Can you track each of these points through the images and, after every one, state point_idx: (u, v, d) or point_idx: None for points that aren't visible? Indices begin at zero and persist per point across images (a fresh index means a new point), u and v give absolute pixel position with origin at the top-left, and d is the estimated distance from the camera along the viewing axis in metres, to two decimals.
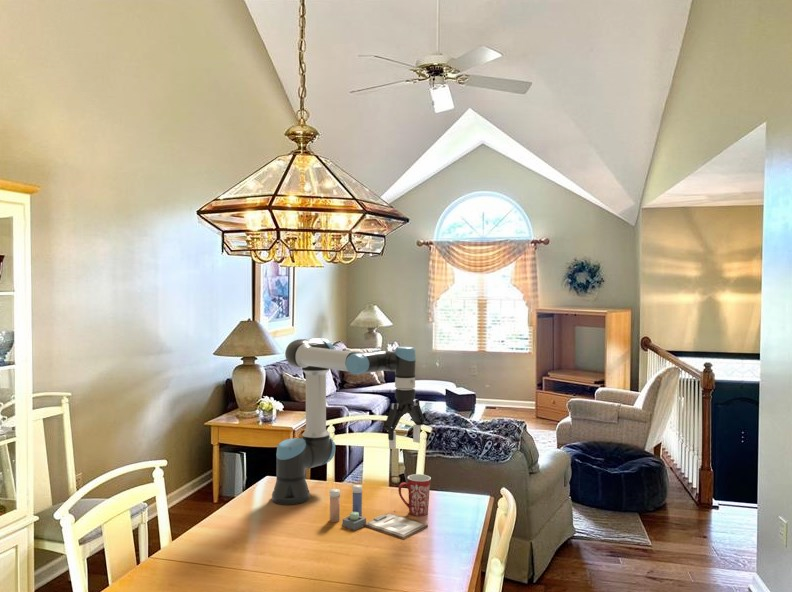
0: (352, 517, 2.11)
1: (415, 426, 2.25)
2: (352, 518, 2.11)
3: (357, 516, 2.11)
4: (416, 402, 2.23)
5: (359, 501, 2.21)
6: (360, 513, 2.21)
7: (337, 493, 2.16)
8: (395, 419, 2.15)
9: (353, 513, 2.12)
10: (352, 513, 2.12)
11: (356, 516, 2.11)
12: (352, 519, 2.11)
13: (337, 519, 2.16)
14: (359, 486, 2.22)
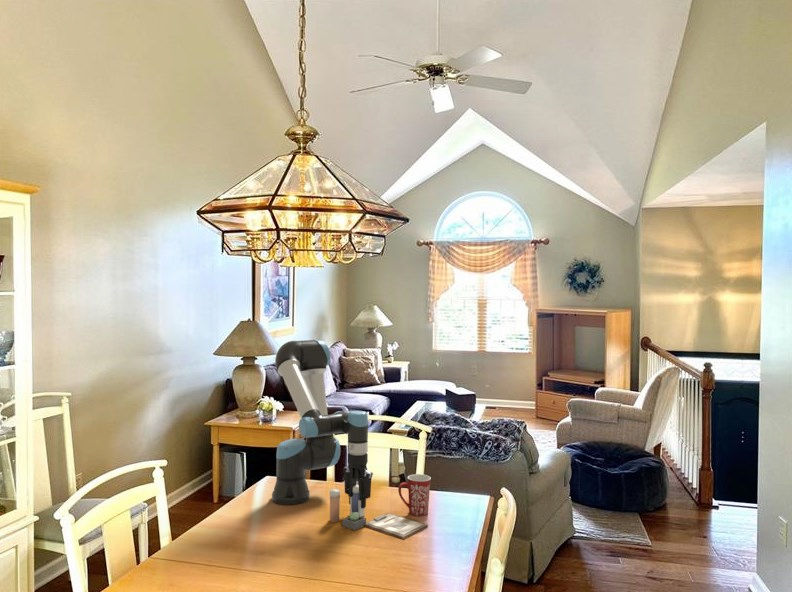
0: (352, 517, 2.11)
1: None
2: (352, 518, 2.11)
3: (357, 516, 2.11)
4: (366, 474, 2.19)
5: None
6: None
7: (337, 493, 2.16)
8: None
9: (353, 513, 2.12)
10: (352, 513, 2.12)
11: (356, 516, 2.11)
12: (352, 519, 2.11)
13: (337, 519, 2.16)
14: None
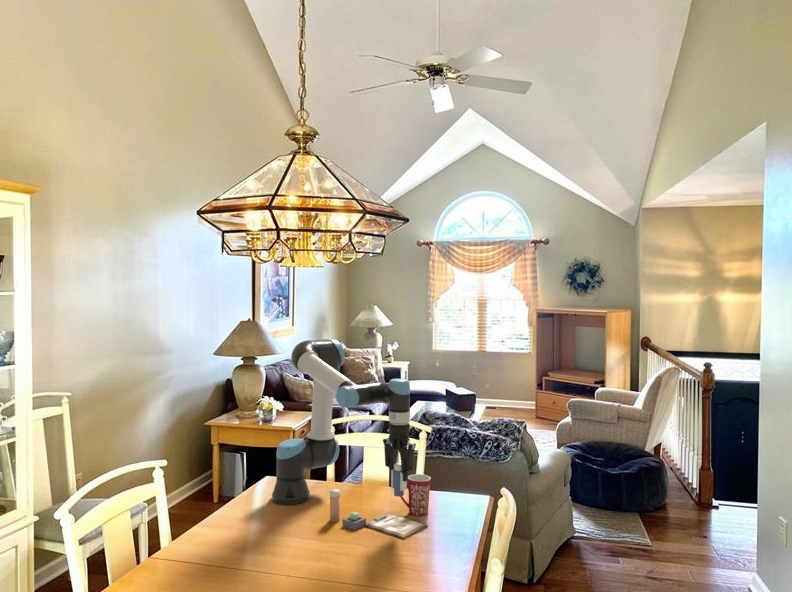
0: (352, 517, 2.11)
1: None
2: (352, 518, 2.11)
3: (357, 516, 2.11)
4: (409, 445, 2.06)
5: None
6: (402, 492, 2.09)
7: (337, 493, 2.16)
8: None
9: (353, 513, 2.12)
10: (352, 513, 2.12)
11: (356, 516, 2.11)
12: (352, 519, 2.11)
13: (337, 519, 2.16)
14: None
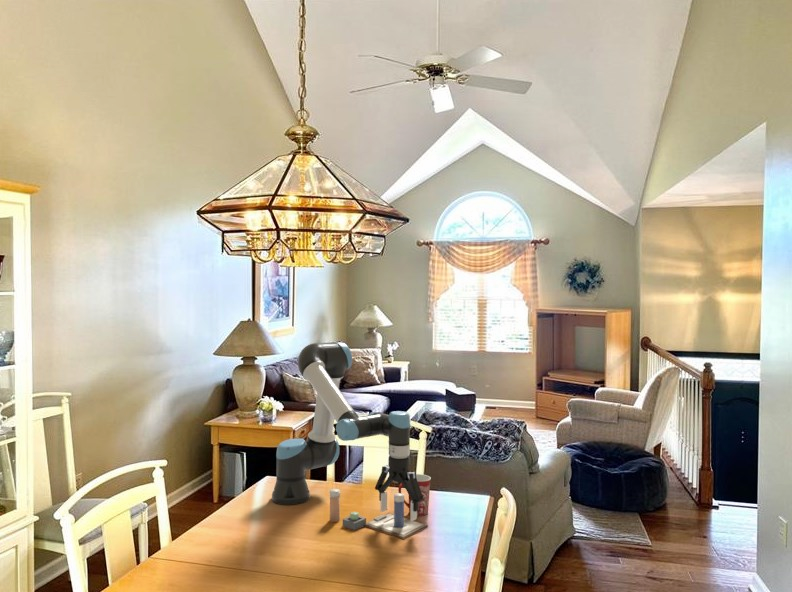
0: (352, 517, 2.11)
1: None
2: (352, 518, 2.11)
3: (357, 516, 2.11)
4: None
5: (401, 511, 2.08)
6: (402, 523, 2.09)
7: (337, 493, 2.16)
8: None
9: (353, 513, 2.12)
10: (352, 513, 2.12)
11: (356, 516, 2.11)
12: (352, 519, 2.11)
13: (337, 519, 2.16)
14: (401, 495, 2.10)
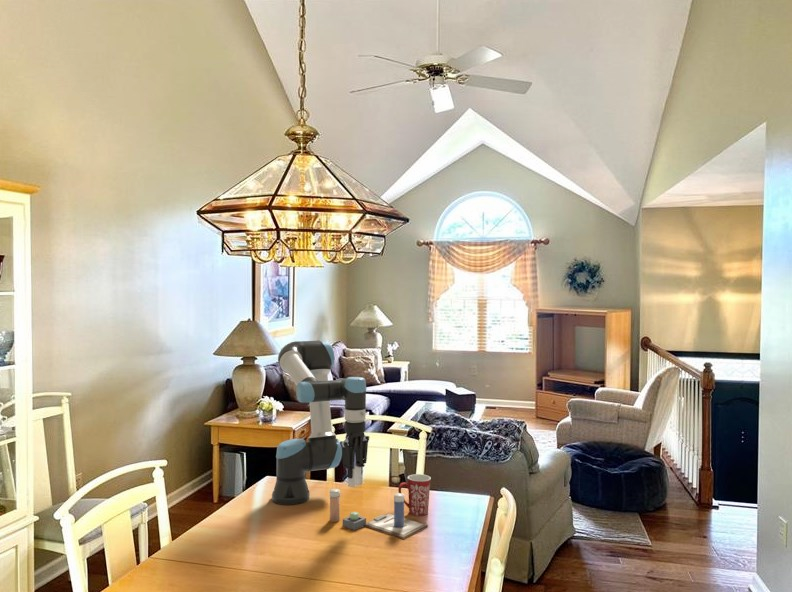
0: (352, 517, 2.11)
1: (356, 468, 2.14)
2: (352, 518, 2.11)
3: (357, 516, 2.11)
4: (366, 438, 2.16)
5: (401, 511, 2.08)
6: (402, 523, 2.09)
7: (337, 493, 2.16)
8: (350, 456, 2.10)
9: (353, 513, 2.12)
10: (352, 513, 2.12)
11: (356, 516, 2.11)
12: (352, 519, 2.11)
13: (337, 519, 2.16)
14: (401, 495, 2.10)
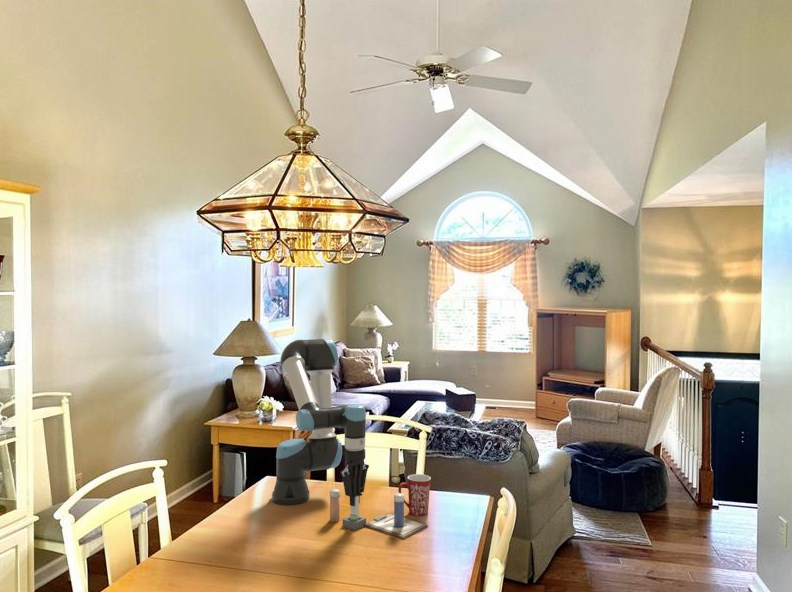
0: (352, 518, 2.11)
1: None
2: (352, 519, 2.11)
3: (357, 517, 2.11)
4: (365, 466, 2.16)
5: (401, 511, 2.08)
6: (402, 523, 2.09)
7: (337, 493, 2.16)
8: (352, 484, 2.11)
9: None
10: (352, 514, 2.12)
11: (356, 517, 2.11)
12: (352, 520, 2.11)
13: (337, 519, 2.16)
14: (401, 495, 2.10)
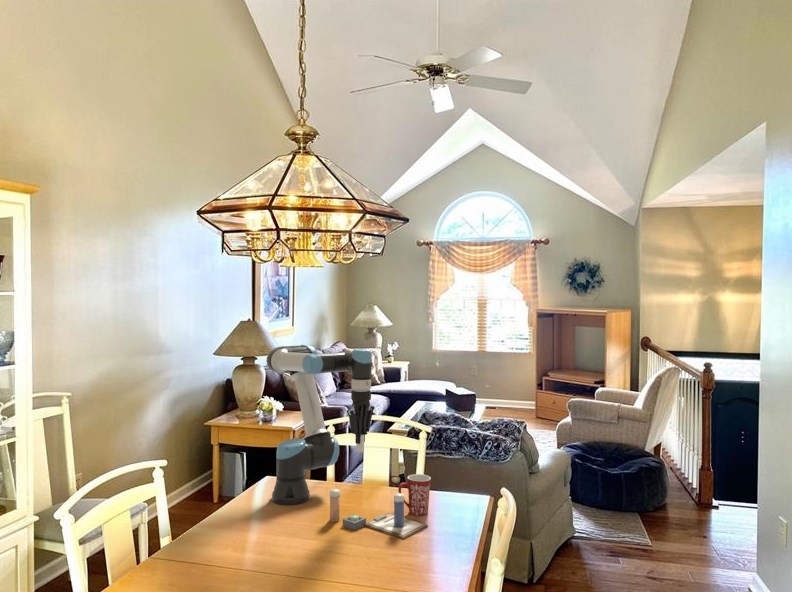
0: (352, 520, 2.11)
1: None
2: None
3: (357, 519, 2.11)
4: (371, 407, 2.27)
5: (401, 511, 2.08)
6: (402, 523, 2.09)
7: (337, 493, 2.16)
8: (357, 423, 2.23)
9: (353, 516, 2.12)
10: (352, 516, 2.12)
11: (356, 519, 2.11)
12: None
13: (337, 519, 2.16)
14: (401, 495, 2.10)
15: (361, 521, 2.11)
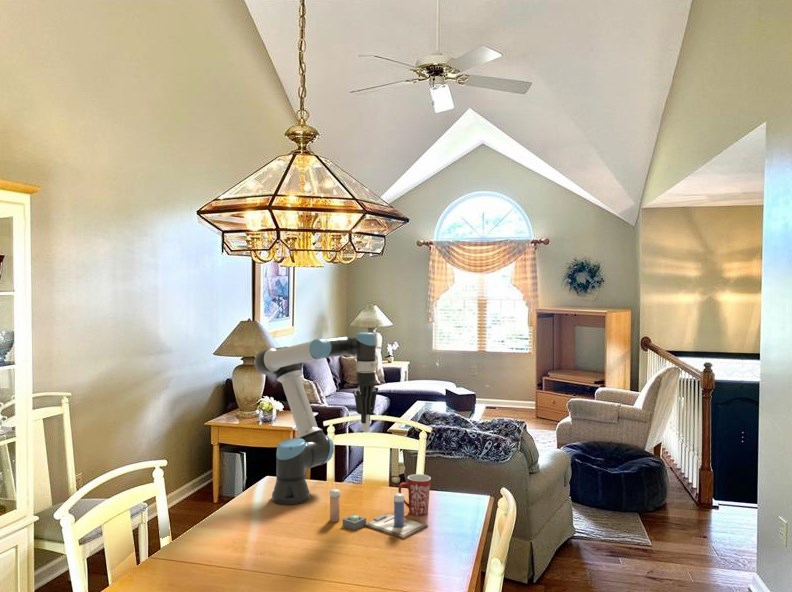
0: (352, 520, 2.11)
1: None
2: None
3: (357, 519, 2.11)
4: (375, 389, 2.37)
5: (401, 511, 2.08)
6: (402, 523, 2.09)
7: (337, 493, 2.16)
8: (363, 403, 2.32)
9: (353, 516, 2.12)
10: (352, 516, 2.12)
11: (356, 519, 2.11)
12: None
13: (337, 519, 2.16)
14: (401, 495, 2.10)
15: (361, 521, 2.11)
